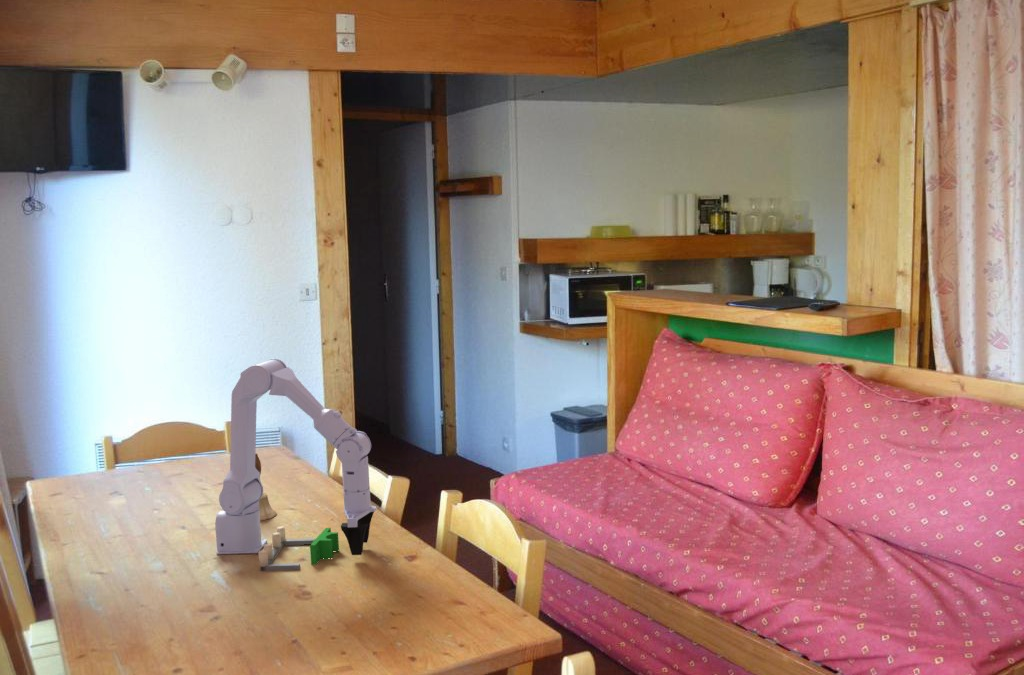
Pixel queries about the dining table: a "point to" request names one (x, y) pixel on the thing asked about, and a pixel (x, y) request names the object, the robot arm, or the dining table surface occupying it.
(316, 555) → the pipe clamp
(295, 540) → the peg cradle
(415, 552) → the dining table surface
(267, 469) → the dining table surface
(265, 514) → the hand bell
